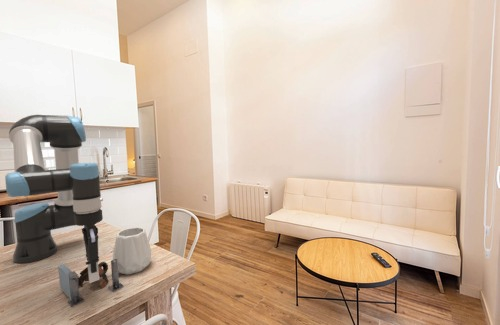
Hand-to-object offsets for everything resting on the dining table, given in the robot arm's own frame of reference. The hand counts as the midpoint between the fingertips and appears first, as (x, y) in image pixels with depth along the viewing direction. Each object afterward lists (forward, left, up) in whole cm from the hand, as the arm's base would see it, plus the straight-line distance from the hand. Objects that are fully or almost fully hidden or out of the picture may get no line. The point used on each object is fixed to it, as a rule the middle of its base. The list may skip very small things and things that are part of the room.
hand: (94, 280), depth 79 cm
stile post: (0, +6, -6) cm, 9 cm away
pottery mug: (-8, +3, -6) cm, 11 cm away
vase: (-8, +17, -6) cm, 20 cm away
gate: (-8, -5, -5) cm, 11 cm away
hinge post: (-2, -5, -6) cm, 8 cm away
